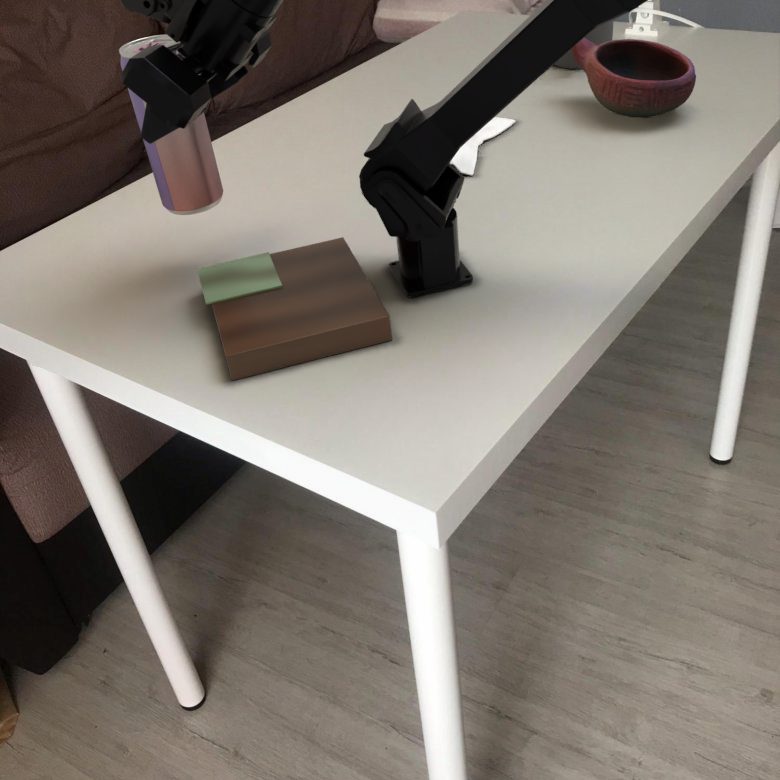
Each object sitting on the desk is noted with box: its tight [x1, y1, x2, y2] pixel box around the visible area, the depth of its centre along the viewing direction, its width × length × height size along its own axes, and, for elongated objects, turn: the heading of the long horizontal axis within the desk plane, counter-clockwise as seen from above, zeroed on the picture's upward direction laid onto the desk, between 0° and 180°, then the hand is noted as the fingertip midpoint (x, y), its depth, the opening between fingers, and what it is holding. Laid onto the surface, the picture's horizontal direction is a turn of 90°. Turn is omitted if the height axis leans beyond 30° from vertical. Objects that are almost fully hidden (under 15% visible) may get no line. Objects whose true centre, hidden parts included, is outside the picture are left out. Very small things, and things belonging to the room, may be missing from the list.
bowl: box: [571, 38, 697, 119], centre depth 108 cm, size 16×13×8 cm
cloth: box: [450, 116, 516, 177], centre depth 107 cm, size 26×14×2 cm, turn 155°
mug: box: [553, 19, 615, 70], centre depth 124 cm, size 14×9×12 cm
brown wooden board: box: [196, 236, 393, 381], centre depth 78 cm, size 16×14×3 cm
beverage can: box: [118, 34, 224, 216], centre depth 79 cm, size 6×6×15 cm
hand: (161, 127), depth 80 cm, fingers closed on beverage can, 6 cm apart
